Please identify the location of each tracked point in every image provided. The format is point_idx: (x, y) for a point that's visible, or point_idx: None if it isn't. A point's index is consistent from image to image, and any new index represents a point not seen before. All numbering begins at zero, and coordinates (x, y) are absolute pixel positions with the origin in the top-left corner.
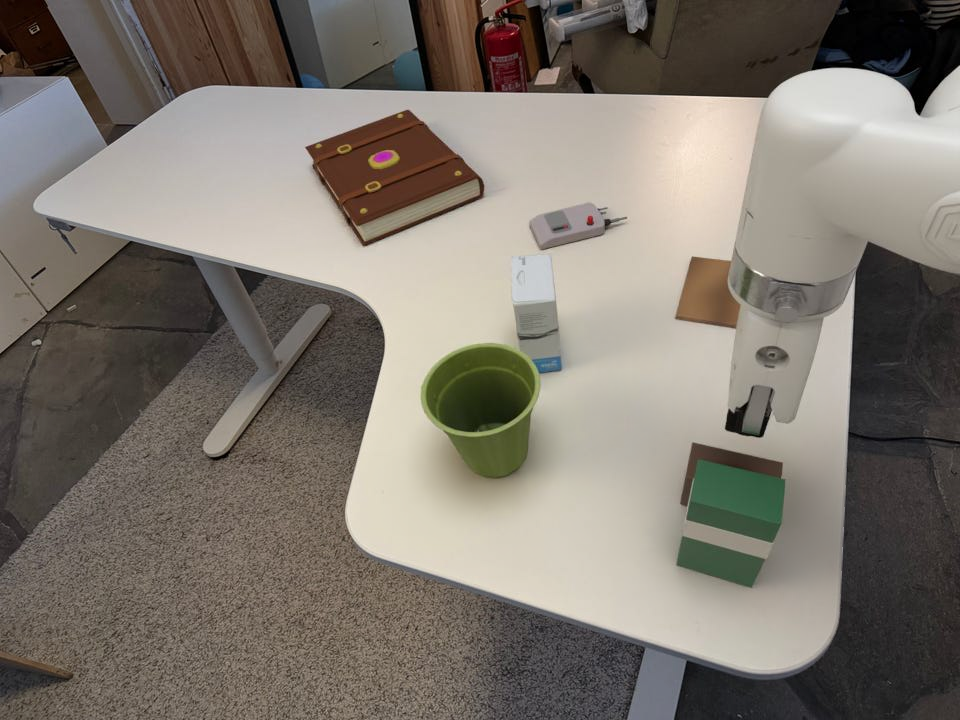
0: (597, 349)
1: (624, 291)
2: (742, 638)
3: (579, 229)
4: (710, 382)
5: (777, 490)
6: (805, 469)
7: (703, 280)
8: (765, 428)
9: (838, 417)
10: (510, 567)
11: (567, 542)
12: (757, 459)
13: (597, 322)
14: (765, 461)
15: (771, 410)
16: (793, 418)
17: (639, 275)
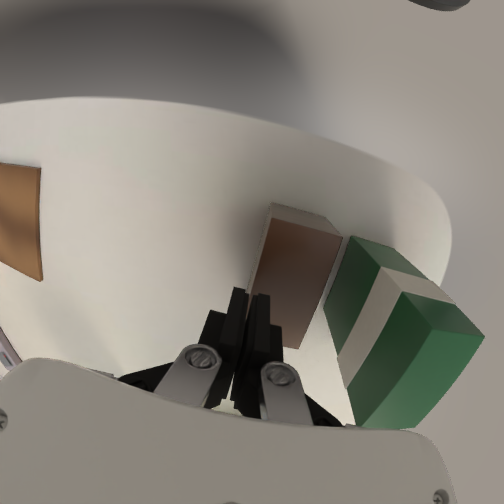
0: (100, 357)
1: (33, 320)
2: (432, 264)
3: (1, 346)
4: (109, 254)
5: (445, 341)
6: (234, 152)
7: (2, 247)
8: (269, 310)
9: (146, 101)
10: (343, 417)
11: (328, 393)
12: (266, 256)
13: (71, 350)
14: (270, 245)
15: (267, 353)
16: (441, 457)
17: (15, 302)
